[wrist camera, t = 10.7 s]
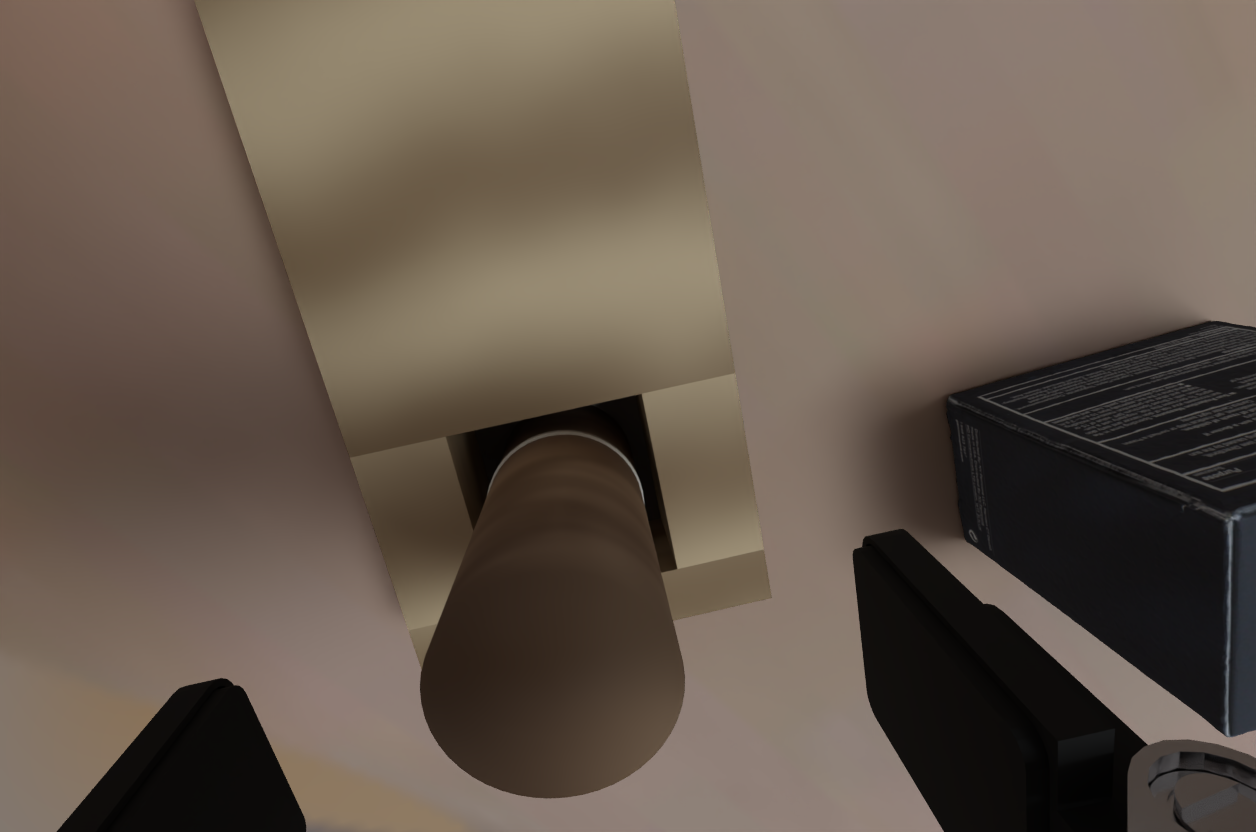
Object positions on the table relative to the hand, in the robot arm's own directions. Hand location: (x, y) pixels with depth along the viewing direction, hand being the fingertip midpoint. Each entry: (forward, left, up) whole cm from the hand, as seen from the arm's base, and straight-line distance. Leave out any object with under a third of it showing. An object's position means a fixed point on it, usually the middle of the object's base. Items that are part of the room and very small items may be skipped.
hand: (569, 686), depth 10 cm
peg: (0, +1, -13) cm, 13 cm away
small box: (-19, +4, -13) cm, 23 cm away
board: (0, -5, -13) cm, 14 cm away
